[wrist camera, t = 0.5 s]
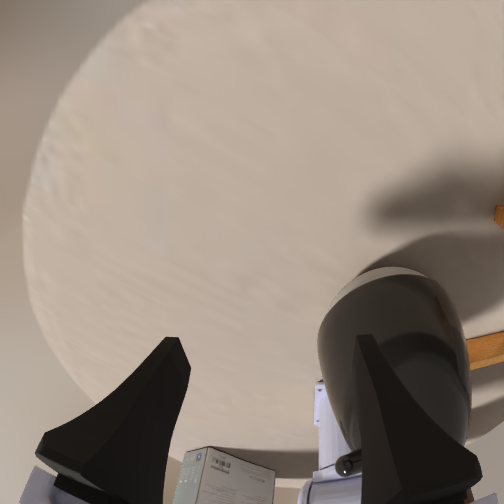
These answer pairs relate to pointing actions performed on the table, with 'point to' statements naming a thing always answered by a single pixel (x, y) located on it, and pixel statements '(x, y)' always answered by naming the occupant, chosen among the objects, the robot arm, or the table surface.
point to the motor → (489, 346)
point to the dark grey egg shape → (397, 351)
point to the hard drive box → (222, 480)
